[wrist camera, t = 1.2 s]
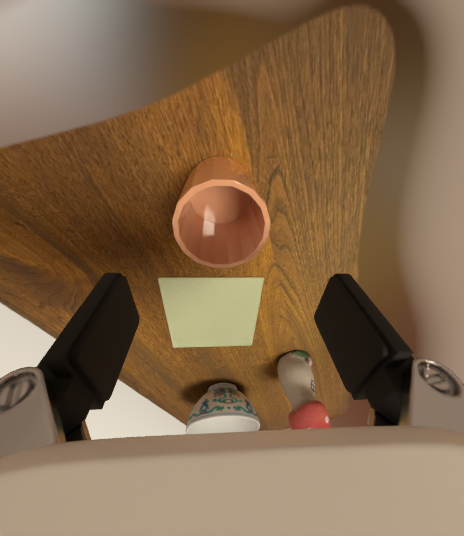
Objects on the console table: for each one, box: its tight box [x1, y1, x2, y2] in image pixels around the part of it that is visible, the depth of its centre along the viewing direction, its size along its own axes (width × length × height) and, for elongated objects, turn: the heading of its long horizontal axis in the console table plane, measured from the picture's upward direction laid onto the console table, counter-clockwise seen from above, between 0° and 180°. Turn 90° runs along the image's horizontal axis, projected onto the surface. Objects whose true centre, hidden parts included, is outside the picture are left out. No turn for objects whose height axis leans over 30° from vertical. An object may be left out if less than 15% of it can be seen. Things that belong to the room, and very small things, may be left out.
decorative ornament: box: [278, 350, 331, 429], centre depth 36 cm, size 9×7×15 cm
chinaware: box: [186, 383, 260, 434], centre depth 45 cm, size 15×15×8 cm
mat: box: [158, 277, 264, 347], centre depth 32 cm, size 16×14×1 cm
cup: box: [172, 156, 270, 268], centre depth 18 cm, size 7×7×8 cm
